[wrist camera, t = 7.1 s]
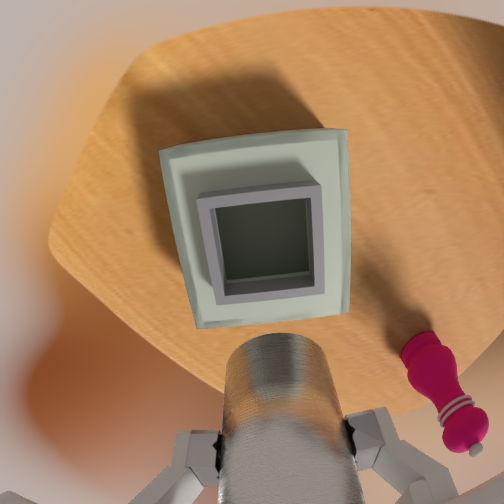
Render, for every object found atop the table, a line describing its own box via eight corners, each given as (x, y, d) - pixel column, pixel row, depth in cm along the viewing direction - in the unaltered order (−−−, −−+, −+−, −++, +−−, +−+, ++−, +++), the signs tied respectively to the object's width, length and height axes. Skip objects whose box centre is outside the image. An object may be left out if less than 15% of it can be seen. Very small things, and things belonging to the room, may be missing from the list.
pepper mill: (390, 351, 38) (444, 469, 20) (430, 320, 36) (502, 428, 18) (408, 373, 40) (457, 476, 22) (445, 344, 38) (506, 442, 20)
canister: (327, 325, 12) (410, 632, 1) (325, 395, 13) (370, 621, 3) (216, 339, 12) (190, 654, 1) (235, 406, 14) (231, 635, 3)
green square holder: (324, 127, 27) (355, 130, 19) (331, 277, 33) (354, 325, 25) (178, 144, 28) (149, 153, 19) (206, 290, 34) (193, 343, 26)
